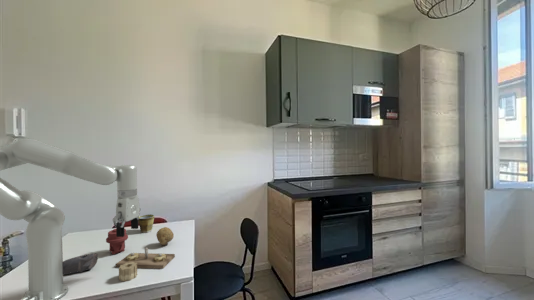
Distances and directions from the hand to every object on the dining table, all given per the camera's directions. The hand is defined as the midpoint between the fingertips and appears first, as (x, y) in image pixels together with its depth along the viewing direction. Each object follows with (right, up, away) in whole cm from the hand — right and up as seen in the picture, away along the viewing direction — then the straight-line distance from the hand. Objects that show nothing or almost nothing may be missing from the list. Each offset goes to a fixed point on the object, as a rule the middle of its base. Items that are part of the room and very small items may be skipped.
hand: (127, 232), depth 106 cm
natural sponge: (+2, -19, +34) cm, 39 cm away
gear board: (+2, -19, +13) cm, 23 cm away
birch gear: (+1, -19, -1) cm, 19 cm away
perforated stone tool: (-25, -19, +3) cm, 32 cm away
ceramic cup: (-21, -19, +57) cm, 64 cm away
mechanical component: (-20, -19, +24) cm, 36 cm away
